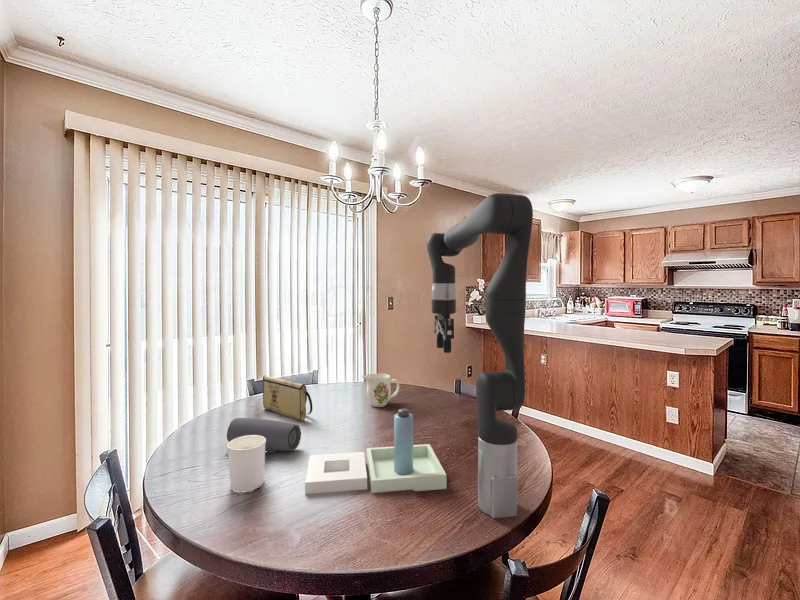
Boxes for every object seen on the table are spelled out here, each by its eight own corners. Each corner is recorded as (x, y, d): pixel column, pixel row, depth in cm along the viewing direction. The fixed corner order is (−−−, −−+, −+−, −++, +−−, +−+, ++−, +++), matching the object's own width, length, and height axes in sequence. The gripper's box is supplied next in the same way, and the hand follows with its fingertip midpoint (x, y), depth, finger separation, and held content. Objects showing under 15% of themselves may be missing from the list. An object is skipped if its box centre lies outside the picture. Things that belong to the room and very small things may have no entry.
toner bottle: (414, 474, 109) (414, 413, 108) (395, 475, 108) (395, 414, 107) (411, 465, 114) (411, 406, 113) (393, 466, 113) (392, 407, 113)
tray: (446, 488, 102) (446, 474, 102) (371, 495, 99) (371, 480, 99) (429, 455, 122) (429, 444, 122) (366, 460, 119) (366, 448, 119)
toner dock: (367, 491, 101) (367, 477, 101) (305, 496, 99) (304, 482, 99) (363, 463, 117) (363, 451, 117) (310, 467, 115) (310, 455, 114)
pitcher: (403, 405, 173) (403, 375, 173) (365, 410, 167) (365, 379, 166) (395, 399, 183) (395, 370, 183) (358, 403, 177) (358, 373, 176)
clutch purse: (317, 418, 157) (316, 382, 156) (303, 423, 152) (302, 385, 151) (273, 404, 175) (273, 372, 174) (259, 408, 169) (259, 375, 169)
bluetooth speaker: (302, 447, 128) (302, 418, 128) (287, 460, 120) (286, 428, 119) (244, 440, 135) (243, 412, 134) (225, 451, 126) (225, 421, 125)
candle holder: (254, 473, 111) (254, 432, 111) (273, 484, 105) (273, 440, 105) (221, 486, 104) (220, 443, 103) (239, 499, 97) (238, 453, 97)
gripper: (426, 297, 125) (426, 346, 126) (437, 299, 111) (437, 354, 112) (449, 297, 126) (449, 346, 127) (462, 298, 112) (462, 353, 113)
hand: (443, 350), depth 119 cm, fingers open, 8 cm apart
